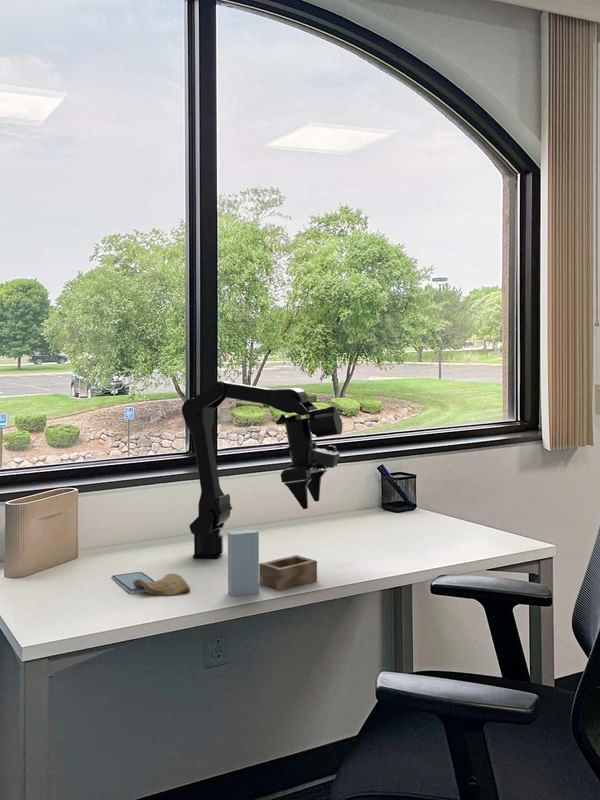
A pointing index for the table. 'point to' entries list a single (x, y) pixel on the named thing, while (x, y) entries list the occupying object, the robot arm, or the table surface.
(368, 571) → the table surface
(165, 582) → the brown tapered lumpy piece
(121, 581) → the smartphone
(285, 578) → the brown wooden open box
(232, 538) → the slate card
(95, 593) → the table surface
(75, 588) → the table surface
